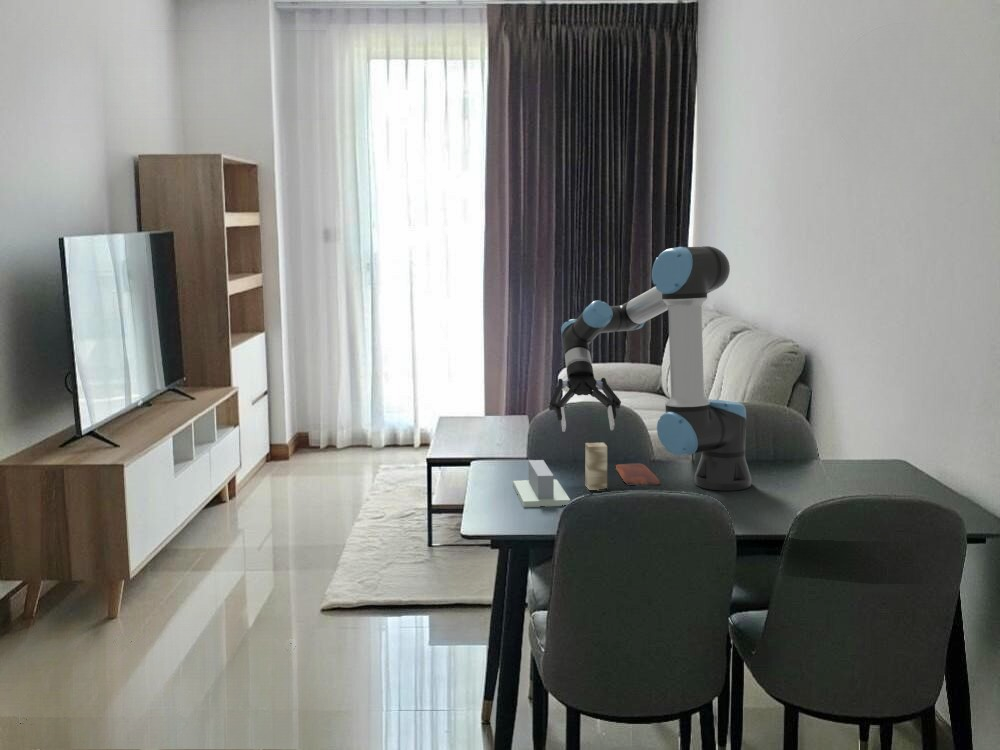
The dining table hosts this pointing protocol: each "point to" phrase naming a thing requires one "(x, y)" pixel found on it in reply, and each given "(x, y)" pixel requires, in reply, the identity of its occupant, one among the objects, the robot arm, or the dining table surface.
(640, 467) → the wooden tablet
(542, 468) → the ridge stand
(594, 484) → the birch block
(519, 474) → the dining table surface
